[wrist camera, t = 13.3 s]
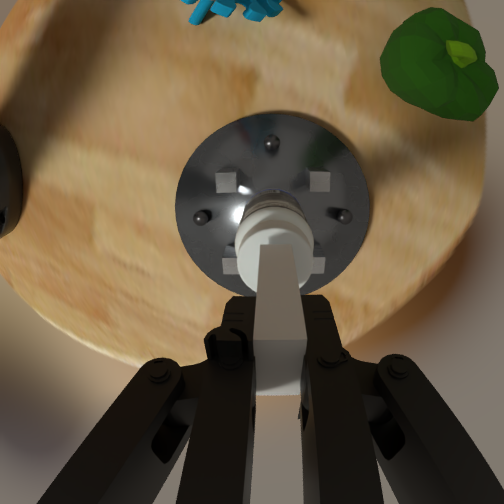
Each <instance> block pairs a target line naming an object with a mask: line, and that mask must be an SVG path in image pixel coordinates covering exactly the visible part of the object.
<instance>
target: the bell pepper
mask: <svg viewBox="0 0 504 504" xmlns="http://www.w3.org/2000/svg"><path fill="white" fill-rule="evenodd" d="M485 53H486V52H485V48H484V45H483V42H482V39H481V36H480V33H479V31H478V30H476V29H475V28H473V27H471V26H470V25H468V24H466V23H465V22H463V21H461V20H460V19H458V18H456V17H455V16H453V15H452V14H450V13H448V12H447V11H445V10H444V9H442V8H433V7H430V8H428V9H425V10H423V11H420V12H418V13H415V14H414V15H412V16H411V17H410V18H408V19H407V20H405V21H404V22H403V24H402V25H400V26H399V27H398V28H396V29H395V30H394V31H393V33H392V34H391V36H390V38H389V40H388V42H387V44H386V46H385V48H384V51H383V53H382V55H381V57H380V64H381V73H382V77H383V79H384V80H385V82H386V84H387V85H388V87H389V89H390V91H392V92H393V93H395V94H396V95H397V96H399V97H400V98H401V99H403V100H404V101H405V102H407V103H409V104H412V105H415V106H418V107H420V108H422V109H424V110H426V111H428V112H430V113H432V114H435V115H437V116H440V117H442V118H448V119H455V120H464V121H474V120H476V119H477V118H478V117H479V116H481V115H482V114H483V112H484V111H485V110H486V109H487V108H488V106H489V105H490V103H491V101H492V100H493V98H494V96H495V94H496V92H497V91H498V89H499V87H498V83H497V79H496V75H495V72H494V70H493V69H492V68H491V67H490V66H489V65H488V64H487V63H486V62H485Z"/></svg>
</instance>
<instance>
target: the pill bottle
mask: <svg viewBox="0 0 504 504" xmlns="http://www.w3.org/2000/svg"><path fill="white" fill-rule="evenodd" d="M260 244H291V245H292V250H293V255H294V261H295V267H296V272H297V278H298V284H299V289H300V288H301V287H302V286H303V285H304V284H305V283H306V282H307V280H308V279H309V277H310V275H311V272H312V269H313V263H314V262H313V249H314V239H313V234H312V231H311V228H310V226H309V224H308V222H307V220H306V217H305V214H304V213H303V211H302V208H301V206H300V204H299V202H298V201H297V199H296V198H295V197H294V196H293V195H292V194H290V193H289V192H287V191H285V190H282V189H277V188H268V189H264V190H261V191H259V192H257V193H255V194H254V195H253V196H252V197H251V198H250V199H249V200H248V202H247V203H246V205H245V207H244V210H243V213H242V216H241V220H240V223H239V226H238V230H237V233H236V237H235V252H236V256H237V267H238V271H239V274H240V276H241V278H242V280H243V281H244V283H245V284H246V285H247V286H248V287H249V288H251V289H252V290H253V291H255V292H257V282H258V269H259V255H260Z"/></svg>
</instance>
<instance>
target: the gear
mask: <svg viewBox="0 0 504 504" xmlns="http://www.w3.org/2000/svg"><path fill="white" fill-rule="evenodd" d="M181 1H182V2H184V3H186V4H194V3H196V1H198V0H181ZM214 1H215V2H214ZM281 1H282V0H200V2H199V3H198V5H197V7H196V8H195V10H194V12H193V13H192V15H191V17H190V19H189V22H190V23H191V24H193V25H199V24H200V23H201V21H202V20H203V18H204V17H205V15H206V14H207V12H208V10H209V9H210V10H211V11H212V12H214V13H216V14H218V15H221V16H224V17H226V18H227V17H229V16H230V15H231V14H232V12H233V11H234V10H235V8H236V4H235V3H239V4H242V5H243V6H245V8H246V10H245V11H244V12H243V16H244V17H245V18H246V19H248V20H252V21H257V22H260V21H261V20H262V19H263V18H264V17H265V16H266V15H267V16H268V17H275V16H277V15H278V14H279V13H280V12H281V11H282V10H283V8H282V7H281V6H280V5H279V3H280V2H281ZM213 3H214V4H213ZM212 4H213V5H212ZM211 6H212V7H211ZM210 7H211V8H210Z"/></svg>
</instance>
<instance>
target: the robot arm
mask: <svg viewBox="0 0 504 504" xmlns="http://www.w3.org/2000/svg"><path fill="white" fill-rule="evenodd" d="M21 205H22V174H21V166H20V161H19V156H18V152H17V149H16V146H15V143H14V141H13V139H12V137H11V135H10V134H9V132H8V131H7V130H6V129H5V128H4V127H3V126H1V125H0V238H2V237H4V236H5V235H7V234H8V233H10V232H11V231H12V230H13V229H14V228H15V226H16V224H17V222H18V219H19V216H20V212H21ZM204 344H205V349H206V353H207V358H208V359H207V360H205V361H203V362H201V363H198V364H194V365H189V366H183V367H180V366H179V365H178V363H177V362H176V361H174V360H172V359H169V358H156V359H153V360H150V361H148V362H146V363H145V364H144V365H143V366H142V367H141V368H140V369H139V371H138V372H137V373H136V374H135V376H134V377H133V378H132V379H131V381H130V382H129V383H128V384H127V386H126V387H125V388H124V390H123V391H122V392H121V394H120V395H119V396H118V397H117V399H116V400H115V401H114V403H113V404H112V405H111V406H110V407H109V409H108V410H107V411H106V413H105V414H104V415H103V417H102V418H101V419H100V420H99V422H98V423H97V424H96V425H95V427H94V428H93V429H92V431H91V432H90V433H89V435H88V436H87V437H86V438H85V440H84V441H83V442H82V444H81V445H80V446H79V448H78V449H77V450H76V452H75V453H74V454H73V456H72V457H71V458H70V459H69V461H68V462H67V464H66V465H65V466H64V467H63V469H62V470H61V471H60V473H59V474H58V475H57V477H56V478H55V479H54V481H53V482H52V483H51V485H50V486H49V488H48V489H47V490H46V492H45V493H44V494H43V496H42V497H41V498H40V500H39V501H38V503H37V504H152V503H153V502H154V500H155V498H156V497H157V495H158V493H159V491H160V490H161V488H162V486H163V484H164V483H165V481H166V479H167V477H168V475H169V474H170V472H171V470H172V468H173V467H174V465H175V463H176V461H177V460H178V458H179V456H180V454H181V452H182V451H183V449H184V447H185V445H186V443H187V441H188V440H189V444H188V448H187V453H186V458H185V462H184V466H183V471H182V476H181V481H180V485H179V490H178V495H177V500H176V504H250V494H251V479H252V464H253V448H254V433H255V414H256V401H255V400H256V395H299V394H300V391H301V404H300V409H299V414H298V419H300V421H301V440H302V463H303V492H304V493H303V495H304V504H384V501H383V494H382V488H381V482H380V476H379V471H378V465H377V461H378V463H379V465H380V466H381V468H382V471H383V473H384V475H385V477H386V479H387V481H388V482H389V485H390V486H391V488H392V491H393V492H394V495H395V497H396V498H397V501H398V503H399V504H504V489H503V488H502V486H501V485H500V483H499V481H498V479H497V478H496V476H495V474H494V473H493V471H492V470H491V468H490V467H489V465H488V463H487V462H486V460H485V459H484V457H483V456H482V454H481V452H480V451H479V450H478V448H477V446H476V445H475V444H474V442H473V440H472V439H471V438H470V436H469V435H468V433H467V432H466V430H465V429H464V427H463V426H462V425H461V423H460V422H459V421H458V419H457V418H456V416H455V415H454V413H453V412H452V411H451V409H450V408H449V407H448V405H447V404H446V403H445V401H444V400H443V398H442V397H441V396H440V394H439V393H438V392H437V391H436V389H435V388H434V387H433V385H432V384H431V383H430V381H429V380H428V379H427V378H426V377H425V375H424V374H423V372H422V371H421V370H420V369H419V367H418V366H417V365H416V364H415V362H413V361H412V360H411V359H410V358H408V357H406V356H404V355H400V354H392V355H387V356H385V357H383V358H382V359H381V360H380V362H379V363H378V364H375V363H369V362H363V361H359V360H356V359H354V358H352V357H351V355H350V354H349V352H348V351H347V350H345V349H344V348H343V347H342V344H341V340H340V337H339V333H338V330H337V326H336V323H335V319H334V316H333V313H332V309H331V306H330V303H329V301H328V300H327V299H326V298H325V297H324V296H323V295H300V290H299V284H298V278H297V272H296V267H295V261H294V255H293V250H292V245H291V244H260V255H259V269H258V282H257V295H256V296H233V297H232V298H231V299H230V300H229V301H228V302H227V303H226V306H225V310H224V314H223V319H222V323H221V326H220V327H217V328H214V329H212V330H211V331H210V332H208V333H207V335H206V336H205V338H204ZM189 438H190V439H189ZM376 459H377V460H376Z"/></svg>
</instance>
